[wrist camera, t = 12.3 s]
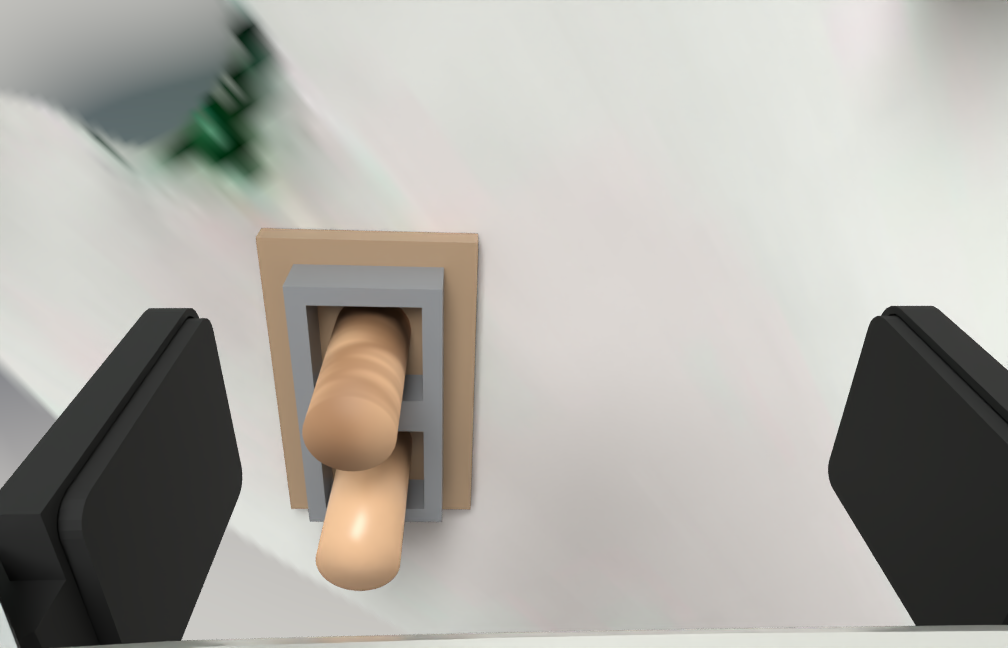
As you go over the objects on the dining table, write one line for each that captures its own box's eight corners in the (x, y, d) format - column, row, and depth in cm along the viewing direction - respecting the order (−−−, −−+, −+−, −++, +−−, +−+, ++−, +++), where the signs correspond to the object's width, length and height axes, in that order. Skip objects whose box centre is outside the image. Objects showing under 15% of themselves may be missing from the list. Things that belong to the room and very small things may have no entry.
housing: (477, 233, 38) (480, 334, 30) (470, 495, 47) (470, 633, 39) (261, 228, 38) (198, 329, 29) (295, 495, 47) (254, 634, 38)
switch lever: (410, 297, 39) (395, 397, 31) (411, 361, 41) (397, 471, 33) (332, 295, 39) (297, 396, 31) (337, 360, 41) (306, 471, 33)
